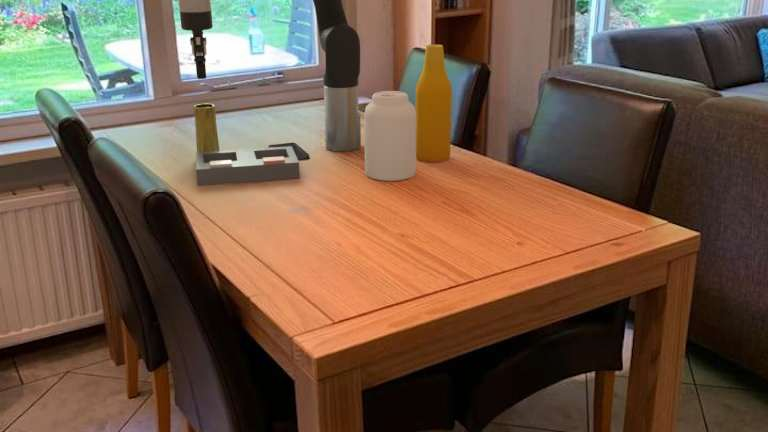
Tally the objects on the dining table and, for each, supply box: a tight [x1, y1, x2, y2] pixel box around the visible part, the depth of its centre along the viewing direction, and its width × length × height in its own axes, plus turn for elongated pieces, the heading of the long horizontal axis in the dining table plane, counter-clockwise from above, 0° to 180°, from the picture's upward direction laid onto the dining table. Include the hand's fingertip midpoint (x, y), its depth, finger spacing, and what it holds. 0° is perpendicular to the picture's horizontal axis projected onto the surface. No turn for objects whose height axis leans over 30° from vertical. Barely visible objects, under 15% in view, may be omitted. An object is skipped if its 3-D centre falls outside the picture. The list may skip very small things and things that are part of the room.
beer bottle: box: [415, 44, 453, 164], centre depth 195 cm, size 9×9×29 cm
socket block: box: [195, 146, 301, 187], centre depth 188 cm, size 24×15×5 cm, turn 103°
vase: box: [193, 103, 221, 152], centre depth 198 cm, size 6×6×14 cm
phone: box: [267, 142, 310, 161], centre depth 205 cm, size 8×1×15 cm
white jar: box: [363, 90, 417, 182], centre depth 184 cm, size 12×12×20 cm
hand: (201, 75), depth 193 cm, fingers open, 8 cm apart
